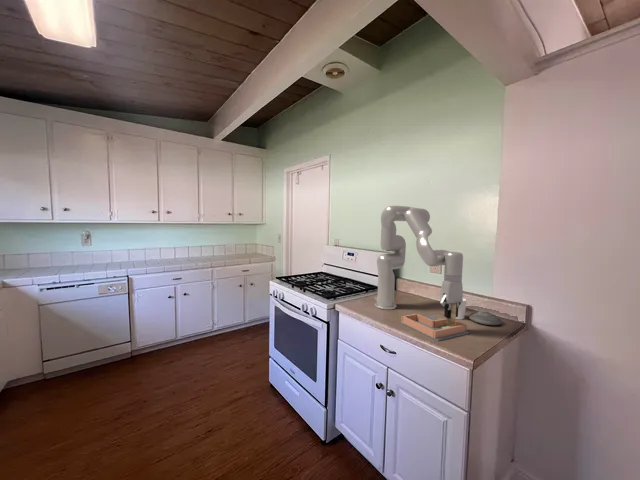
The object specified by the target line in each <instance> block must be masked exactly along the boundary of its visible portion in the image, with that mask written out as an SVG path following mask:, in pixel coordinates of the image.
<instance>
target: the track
mask: <svg viewBox="0 0 640 480" xmlns="http://www.w3.org/2000/svg"><path fill="white" fill-rule="evenodd" d="M400 323H401V325H403V326H406V327H408V328H411V329H413V330H414V331H416V332H419V333H420V334H423V335H424V336H426V337H428V338H431V340H435V341H436V342H440V341H444V340H448V339H452V338H457V337H461V336H466V335H469V334H470V332H469V331H467V327H468V324H465V323H463V322H460V321H458V320H456V322H455V326H454V327H450V326H447V325H446V317H444V318H440V319H438V318H436V317H432V316H430V315H429V316H423V315H421V314H419V313H413V314H408V315H401V321H400Z"/></svg>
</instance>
